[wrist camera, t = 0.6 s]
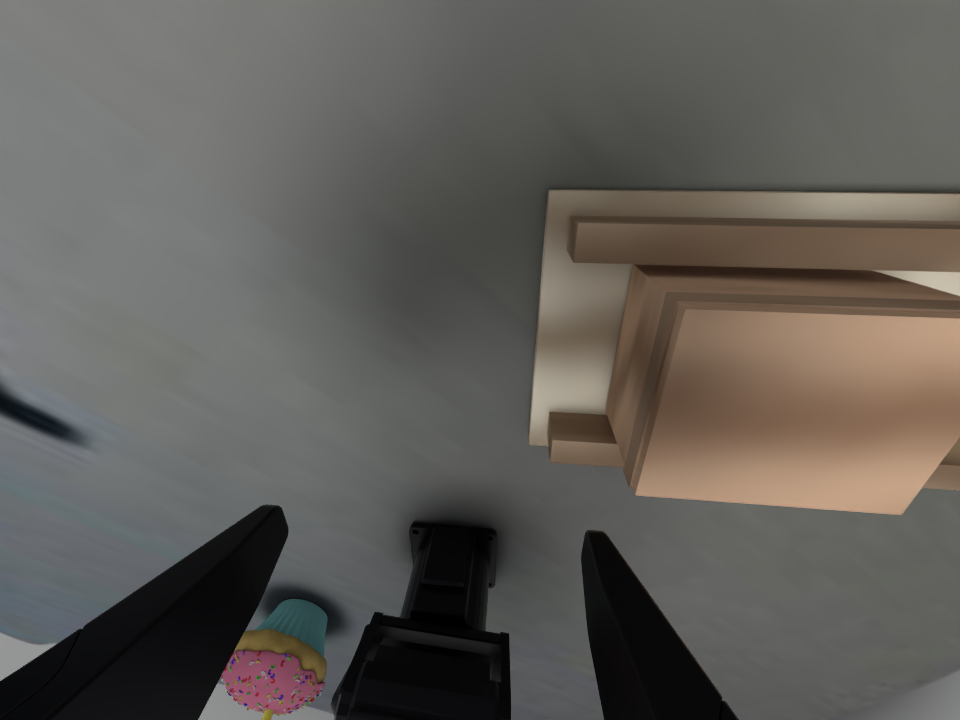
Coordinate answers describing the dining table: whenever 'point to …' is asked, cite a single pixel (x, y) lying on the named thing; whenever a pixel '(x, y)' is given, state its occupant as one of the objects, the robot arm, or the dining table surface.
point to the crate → (785, 386)
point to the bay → (704, 242)
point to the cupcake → (280, 660)
